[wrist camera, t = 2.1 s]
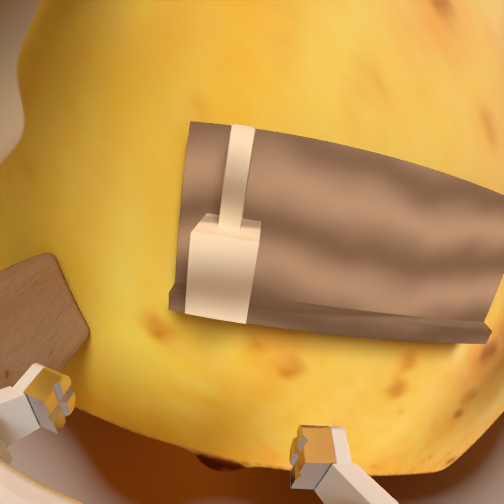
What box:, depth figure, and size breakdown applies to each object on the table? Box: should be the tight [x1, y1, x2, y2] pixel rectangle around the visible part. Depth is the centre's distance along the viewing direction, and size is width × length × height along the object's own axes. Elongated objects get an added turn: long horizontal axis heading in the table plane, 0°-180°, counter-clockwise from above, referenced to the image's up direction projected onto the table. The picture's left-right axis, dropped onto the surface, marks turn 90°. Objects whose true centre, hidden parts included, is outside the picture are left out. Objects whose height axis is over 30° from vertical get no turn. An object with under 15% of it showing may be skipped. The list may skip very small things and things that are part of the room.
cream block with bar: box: [185, 124, 261, 324], centre depth 20 cm, size 13×4×5 cm, turn 171°
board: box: [169, 121, 504, 344], centre depth 23 cm, size 14×30×4 cm, turn 81°
